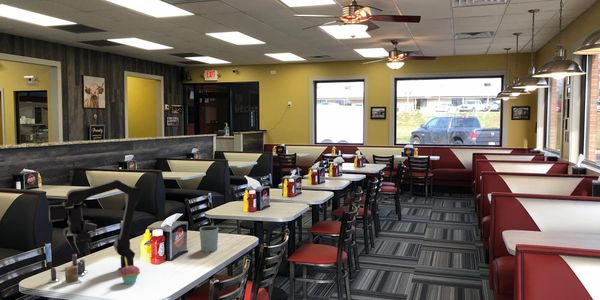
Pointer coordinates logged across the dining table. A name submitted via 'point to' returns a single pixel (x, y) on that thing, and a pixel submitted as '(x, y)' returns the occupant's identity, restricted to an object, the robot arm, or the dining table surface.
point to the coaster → (71, 283)
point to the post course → (79, 265)
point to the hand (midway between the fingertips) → (77, 252)
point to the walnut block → (71, 274)
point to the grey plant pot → (209, 238)
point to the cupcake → (129, 273)
